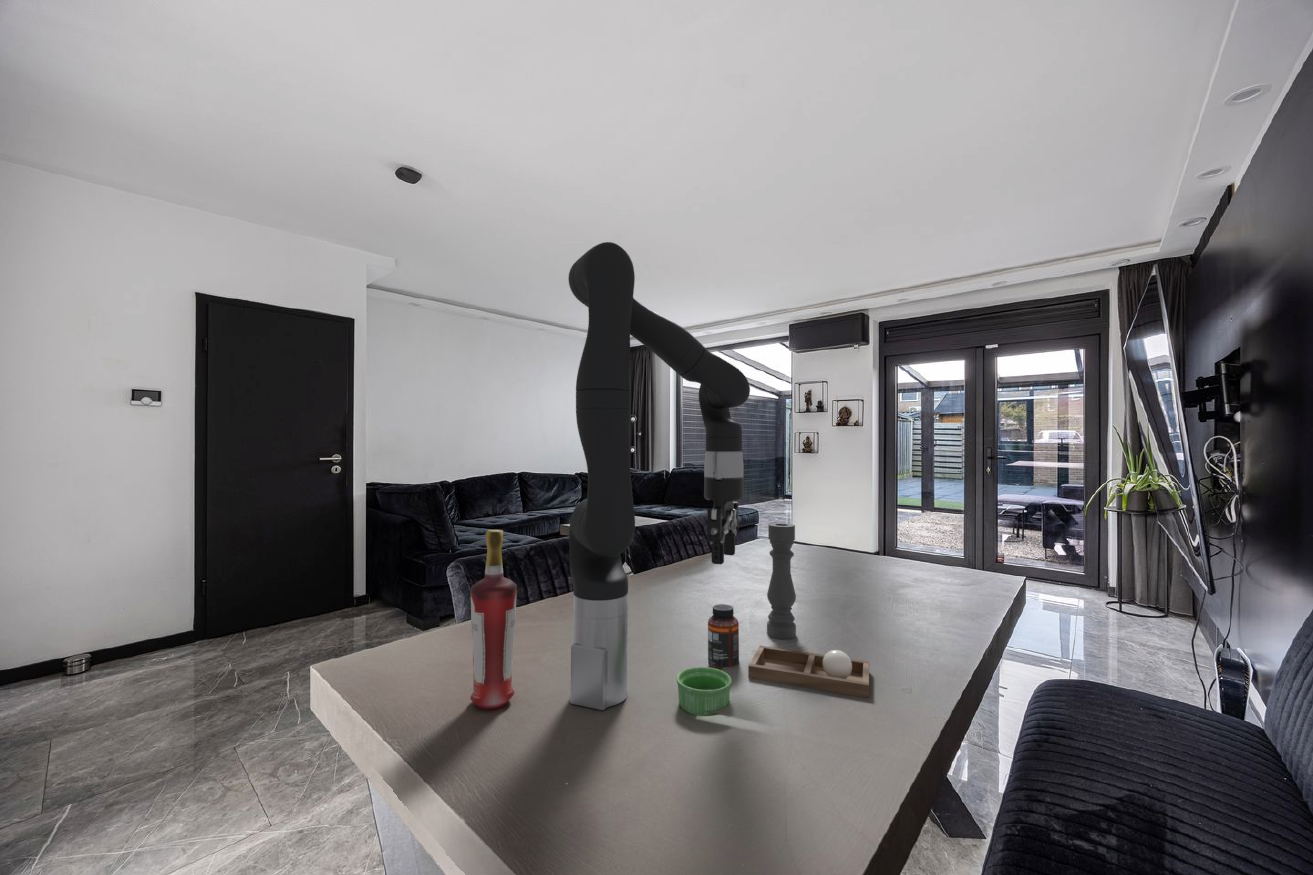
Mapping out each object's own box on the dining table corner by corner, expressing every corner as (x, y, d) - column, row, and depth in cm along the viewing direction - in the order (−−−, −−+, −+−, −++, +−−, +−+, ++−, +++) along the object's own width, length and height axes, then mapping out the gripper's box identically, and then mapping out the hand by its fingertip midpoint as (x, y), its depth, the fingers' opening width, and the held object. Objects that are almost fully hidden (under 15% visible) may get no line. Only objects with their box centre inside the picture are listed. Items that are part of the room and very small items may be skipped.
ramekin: (686, 722, 81) (686, 693, 82) (669, 695, 90) (669, 669, 90) (740, 714, 84) (740, 686, 84) (718, 689, 93) (719, 664, 93)
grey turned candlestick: (788, 646, 112) (789, 527, 113) (762, 639, 116) (762, 525, 117) (800, 638, 117) (800, 524, 118) (774, 632, 121) (774, 521, 122)
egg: (851, 687, 91) (851, 658, 91) (821, 682, 93) (821, 653, 93) (852, 675, 96) (852, 647, 96) (823, 671, 98) (823, 643, 98)
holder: (868, 703, 88) (868, 685, 88) (748, 682, 95) (748, 665, 95) (869, 677, 97) (869, 661, 97) (759, 660, 105) (759, 645, 105)
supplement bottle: (738, 660, 105) (738, 602, 105) (739, 673, 99) (740, 612, 99) (707, 659, 105) (708, 601, 106) (707, 671, 100) (707, 611, 100)
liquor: (468, 696, 89) (470, 528, 90) (513, 689, 92) (515, 526, 92) (469, 717, 82) (471, 535, 83) (518, 709, 85) (519, 533, 85)
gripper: (715, 472, 111) (715, 551, 111) (693, 476, 98) (693, 565, 97) (750, 473, 108) (750, 553, 108) (733, 477, 95) (733, 568, 95)
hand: (723, 559), depth 103 cm, fingers open, 8 cm apart
